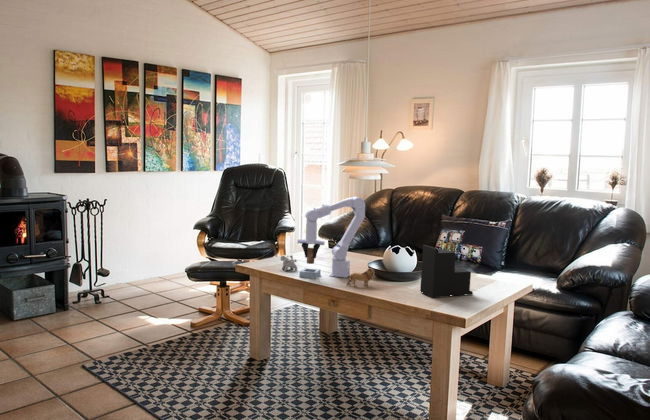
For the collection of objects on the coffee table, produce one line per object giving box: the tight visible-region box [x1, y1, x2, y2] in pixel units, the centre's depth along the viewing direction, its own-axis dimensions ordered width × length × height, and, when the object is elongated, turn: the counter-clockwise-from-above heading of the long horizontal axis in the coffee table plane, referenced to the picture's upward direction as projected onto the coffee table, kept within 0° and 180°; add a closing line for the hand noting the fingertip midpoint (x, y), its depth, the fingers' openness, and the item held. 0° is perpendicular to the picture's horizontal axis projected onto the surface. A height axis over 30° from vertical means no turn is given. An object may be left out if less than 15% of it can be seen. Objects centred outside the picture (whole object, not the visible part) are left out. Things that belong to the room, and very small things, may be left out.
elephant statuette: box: [279, 254, 298, 272], centre depth 298 cm, size 9×12×8 cm
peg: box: [306, 247, 315, 265], centre depth 283 cm, size 4×4×8 cm
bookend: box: [419, 244, 474, 298], centre depth 254 cm, size 23×11×24 cm, turn 112°
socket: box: [299, 267, 321, 279], centre depth 284 cm, size 9×9×3 cm
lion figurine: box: [345, 267, 375, 288], centre depth 264 cm, size 15×5×9 cm, turn 106°
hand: (310, 257), depth 283 cm, fingers closed on peg, 4 cm apart
